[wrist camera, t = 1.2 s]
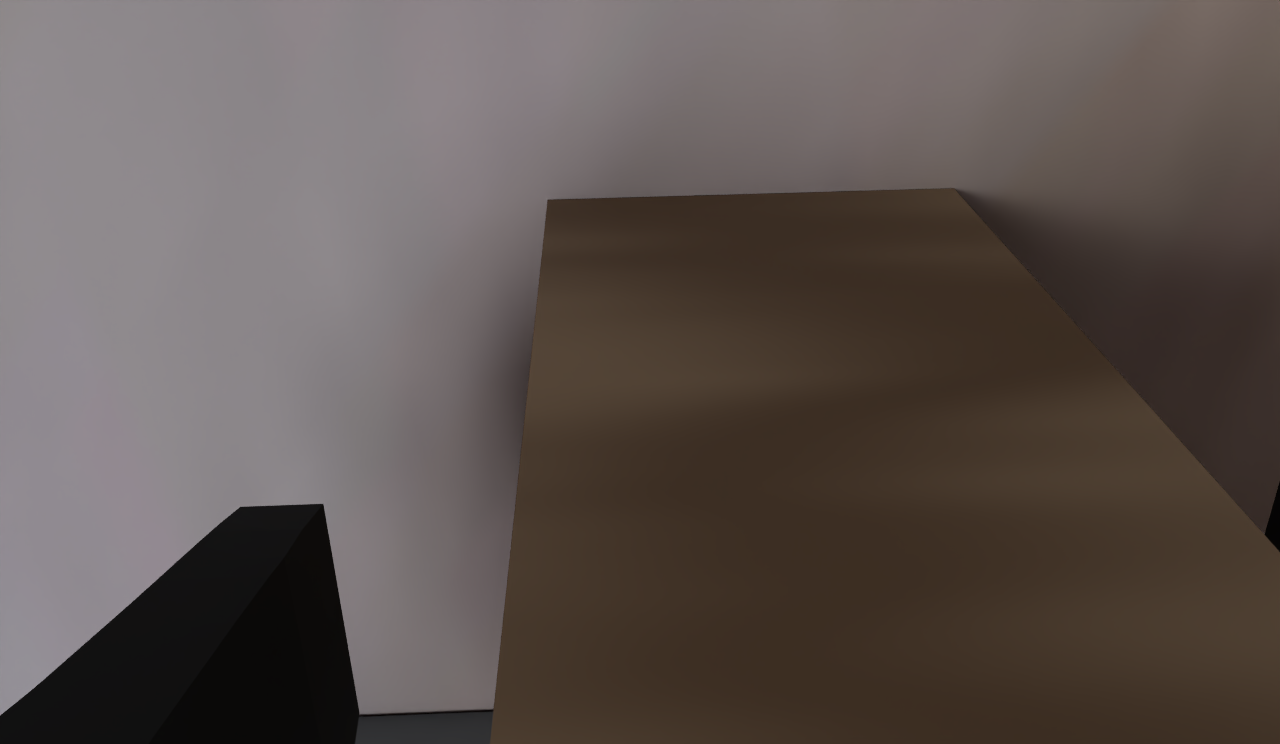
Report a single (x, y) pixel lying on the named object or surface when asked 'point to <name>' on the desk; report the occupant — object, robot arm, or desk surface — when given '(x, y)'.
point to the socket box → (426, 729)
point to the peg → (856, 497)
